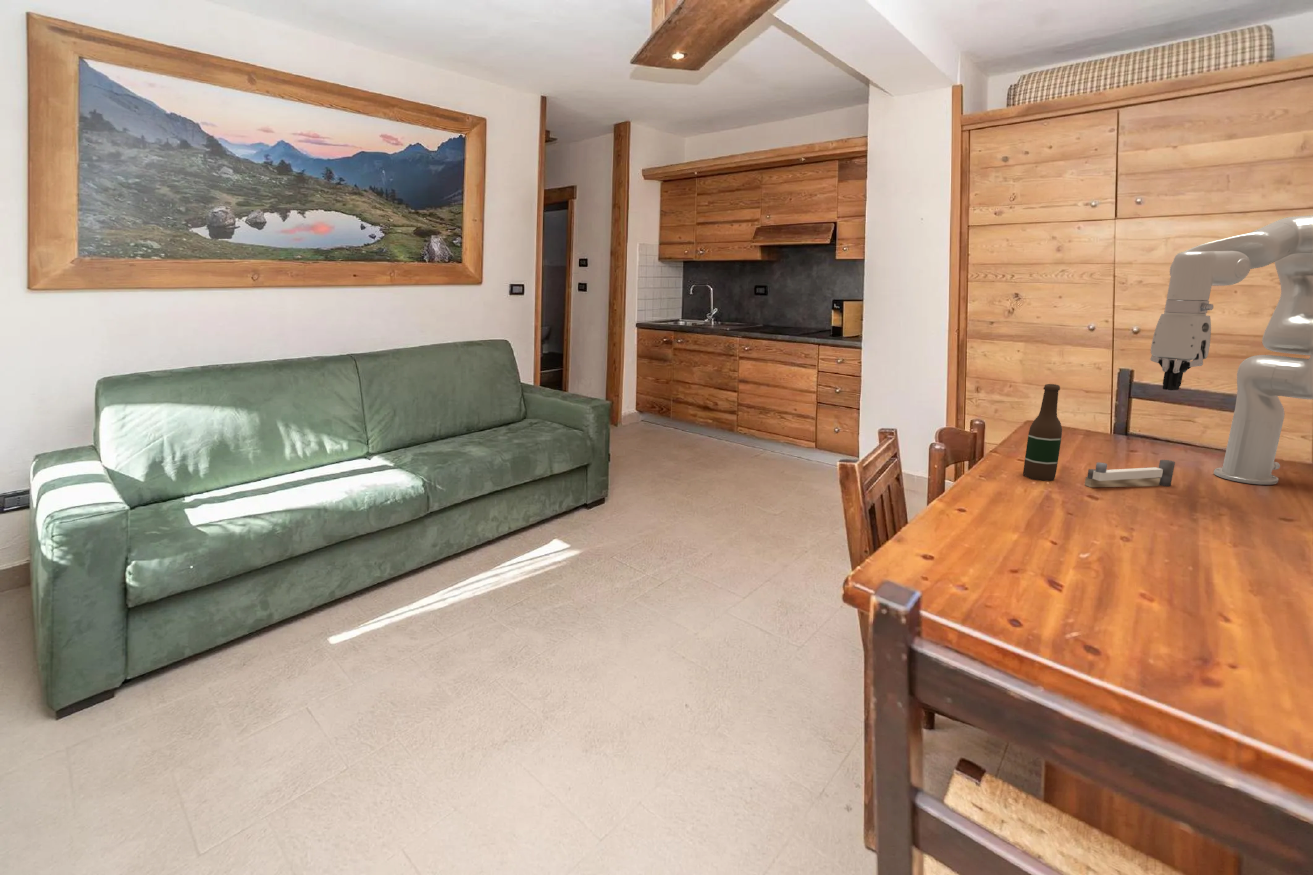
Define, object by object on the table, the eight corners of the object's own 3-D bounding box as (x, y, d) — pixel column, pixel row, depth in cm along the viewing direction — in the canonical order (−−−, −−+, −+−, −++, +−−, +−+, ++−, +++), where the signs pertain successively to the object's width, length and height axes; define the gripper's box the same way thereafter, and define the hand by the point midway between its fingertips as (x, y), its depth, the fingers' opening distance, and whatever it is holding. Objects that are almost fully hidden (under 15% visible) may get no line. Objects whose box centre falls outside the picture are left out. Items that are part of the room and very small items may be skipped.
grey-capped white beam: (1163, 482, 169) (1168, 459, 167) (1173, 486, 166) (1178, 462, 165) (1082, 484, 167) (1086, 460, 166) (1091, 487, 164) (1095, 464, 163)
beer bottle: (1061, 482, 169) (1075, 387, 163) (1027, 480, 170) (1040, 386, 165) (1049, 473, 176) (1063, 383, 170) (1017, 471, 178) (1030, 381, 172)
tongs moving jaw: (1154, 474, 167) (1156, 459, 166) (1162, 477, 165) (1164, 461, 164) (1091, 478, 164) (1094, 462, 163) (1099, 481, 162) (1101, 465, 161)
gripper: (1234, 309, 145) (1217, 394, 149) (1163, 307, 158) (1149, 384, 163) (1211, 310, 142) (1194, 395, 146) (1140, 307, 156) (1127, 385, 160)
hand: (1170, 389), depth 155 cm, fingers closed
